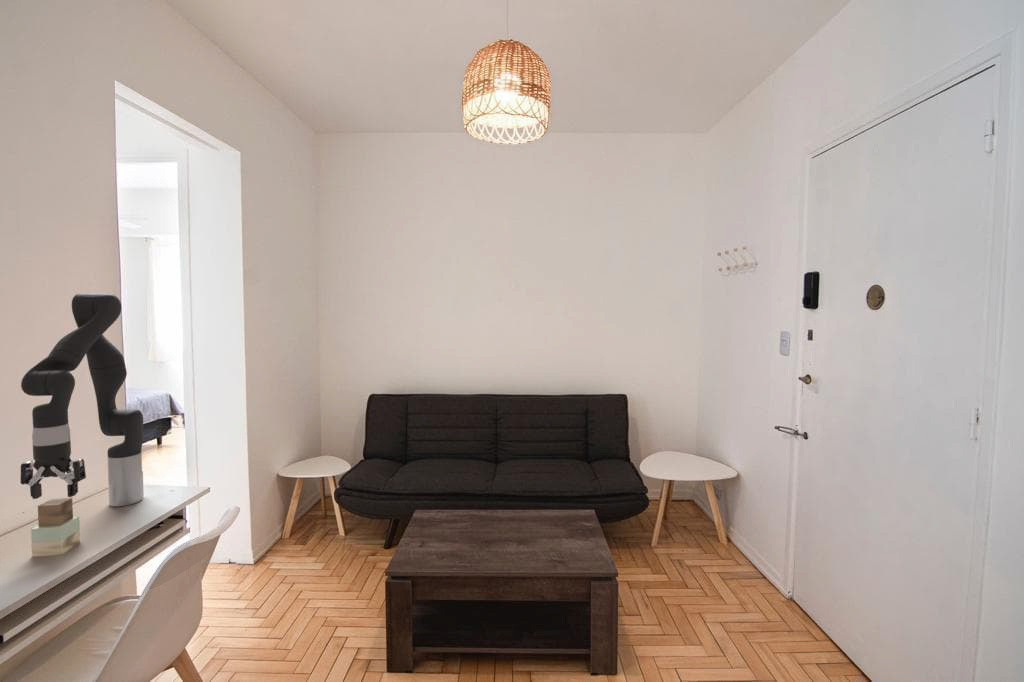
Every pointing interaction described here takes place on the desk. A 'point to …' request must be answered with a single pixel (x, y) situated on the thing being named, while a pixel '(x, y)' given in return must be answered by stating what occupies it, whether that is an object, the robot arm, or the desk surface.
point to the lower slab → (55, 546)
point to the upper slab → (55, 531)
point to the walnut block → (55, 512)
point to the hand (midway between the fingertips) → (54, 496)
